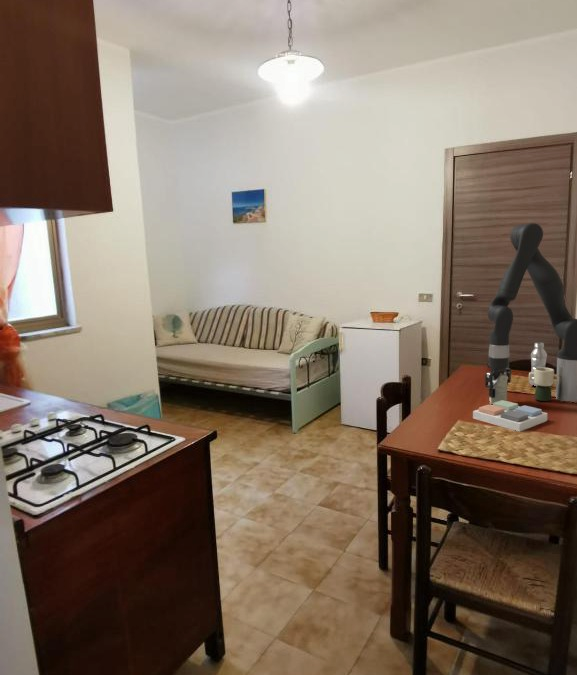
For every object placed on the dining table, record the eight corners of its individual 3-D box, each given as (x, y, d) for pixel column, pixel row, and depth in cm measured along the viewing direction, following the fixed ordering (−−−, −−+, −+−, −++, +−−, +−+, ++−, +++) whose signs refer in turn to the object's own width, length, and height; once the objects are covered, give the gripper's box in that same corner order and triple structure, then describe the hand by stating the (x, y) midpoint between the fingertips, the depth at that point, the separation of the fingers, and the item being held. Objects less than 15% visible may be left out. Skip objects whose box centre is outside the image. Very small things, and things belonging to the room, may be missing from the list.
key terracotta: (488, 409, 180) (488, 404, 180) (504, 413, 175) (504, 408, 175) (478, 412, 177) (478, 407, 177) (494, 416, 172) (494, 411, 171)
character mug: (558, 399, 196) (560, 368, 193) (557, 404, 190) (558, 372, 188) (529, 396, 201) (530, 366, 199) (526, 400, 196) (527, 369, 194)
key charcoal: (510, 414, 173) (510, 410, 172) (528, 419, 167) (528, 414, 167) (500, 418, 170) (500, 413, 169) (518, 423, 164) (518, 418, 164)
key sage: (502, 404, 185) (502, 400, 184) (517, 408, 179) (518, 403, 179) (492, 407, 182) (492, 403, 181) (508, 411, 176) (508, 407, 176)
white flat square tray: (500, 409, 187) (500, 402, 187) (547, 420, 172) (547, 413, 171) (472, 418, 178) (473, 411, 177) (519, 431, 163) (519, 423, 162)
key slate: (524, 410, 177) (524, 405, 177) (541, 414, 172) (541, 409, 172) (514, 413, 174) (514, 408, 174) (532, 417, 169) (532, 412, 168)
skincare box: (505, 402, 195) (506, 373, 193) (507, 405, 191) (507, 375, 189) (488, 401, 197) (489, 372, 195) (490, 404, 193) (490, 375, 191)
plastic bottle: (525, 386, 217) (527, 342, 214) (537, 384, 219) (539, 341, 215) (537, 389, 211) (538, 345, 207) (549, 387, 213) (551, 343, 209)
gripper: (501, 351, 198) (500, 390, 200) (479, 356, 190) (478, 396, 193) (518, 354, 192) (516, 394, 194) (496, 359, 184) (495, 401, 187)
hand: (497, 395), depth 193 cm, fingers closed on skincare box, 7 cm apart
